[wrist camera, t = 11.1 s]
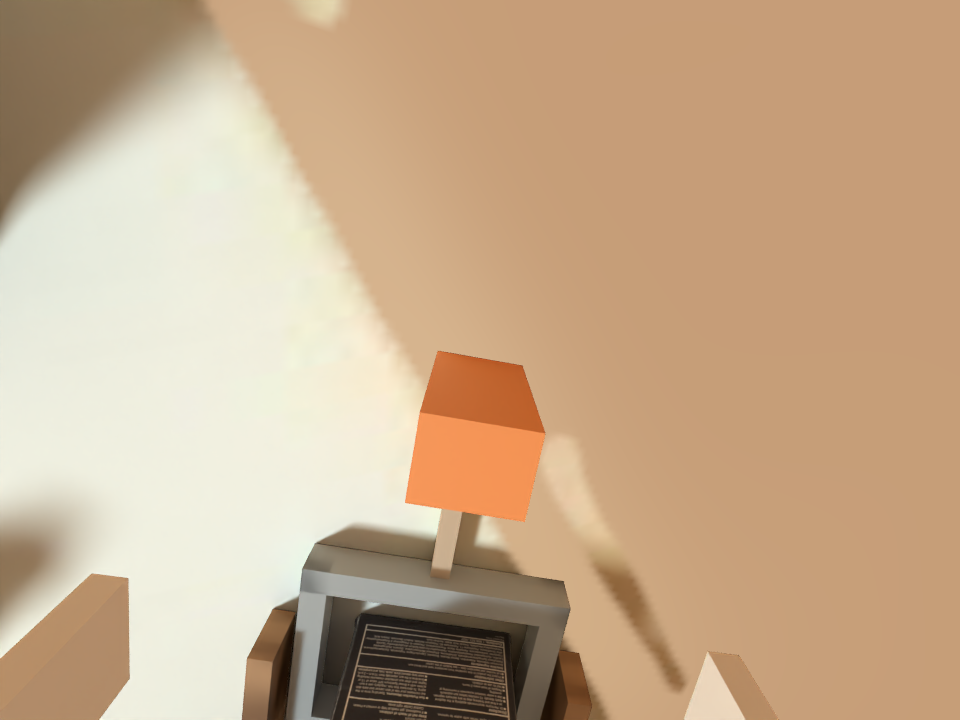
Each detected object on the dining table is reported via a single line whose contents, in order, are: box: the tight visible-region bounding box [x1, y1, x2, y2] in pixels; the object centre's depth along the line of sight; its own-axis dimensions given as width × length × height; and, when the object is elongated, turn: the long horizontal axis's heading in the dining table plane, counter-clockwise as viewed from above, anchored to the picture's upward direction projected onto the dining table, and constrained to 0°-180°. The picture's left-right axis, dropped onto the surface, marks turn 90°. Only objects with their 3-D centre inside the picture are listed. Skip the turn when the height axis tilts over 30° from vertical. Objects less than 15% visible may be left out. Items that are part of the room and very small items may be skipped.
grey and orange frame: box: [286, 351, 570, 720], centre depth 28 cm, size 27×16×10 cm, turn 169°
